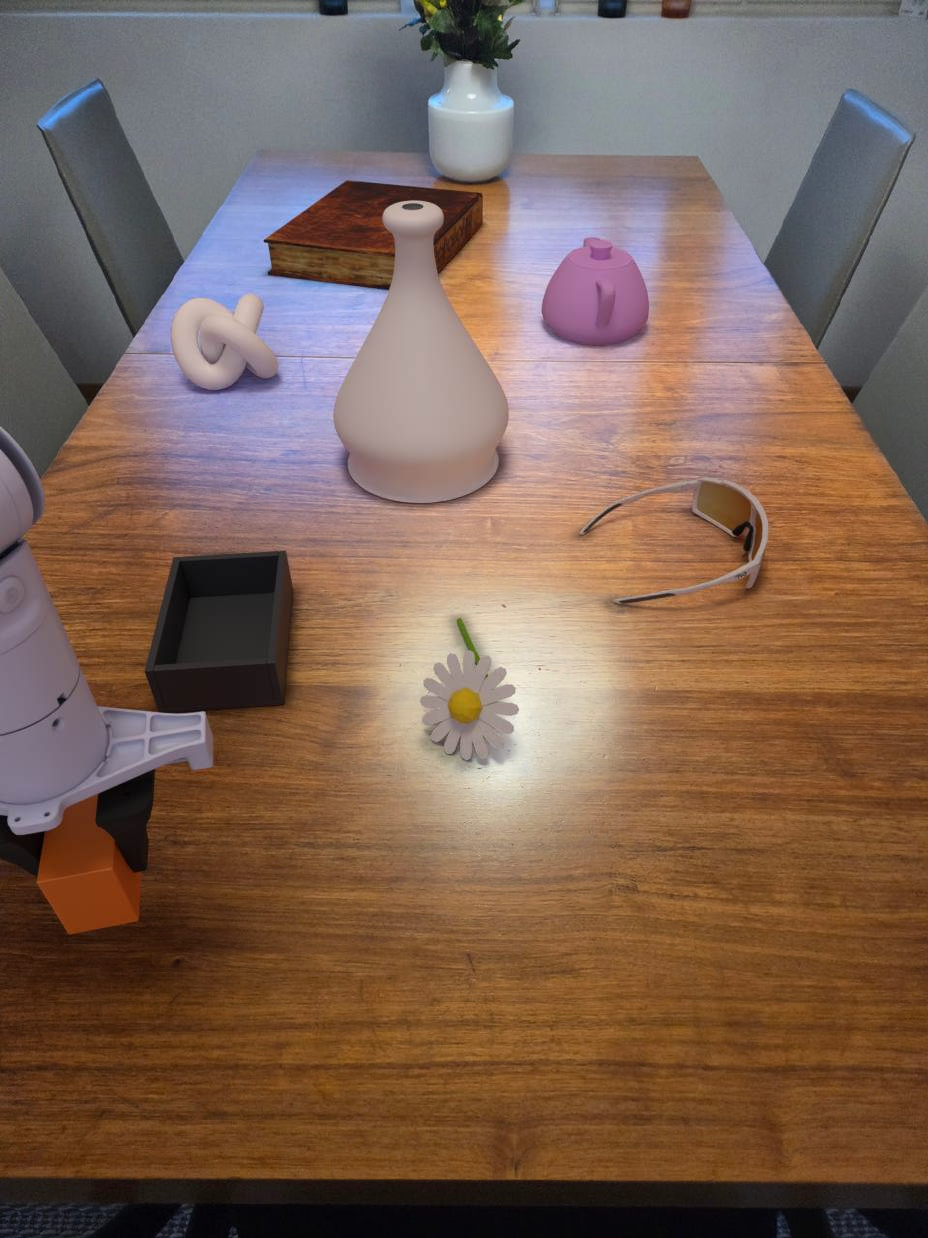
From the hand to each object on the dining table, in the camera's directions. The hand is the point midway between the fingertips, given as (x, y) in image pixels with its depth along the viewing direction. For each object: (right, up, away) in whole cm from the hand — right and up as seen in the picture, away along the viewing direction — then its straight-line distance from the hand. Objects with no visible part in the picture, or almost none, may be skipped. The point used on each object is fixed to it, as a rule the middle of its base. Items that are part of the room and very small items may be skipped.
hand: (100, 863), depth 46 cm
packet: (0, -1, +1) cm, 1 cm away
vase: (+15, +29, +45) cm, 55 cm away
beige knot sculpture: (-8, +42, +59) cm, 72 cm away
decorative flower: (+18, +7, +20) cm, 28 cm away
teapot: (+36, +52, +69) cm, 94 cm away
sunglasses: (+38, +18, +33) cm, 53 cm away
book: (+6, +71, +90) cm, 115 cm away
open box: (0, +11, +24) cm, 26 cm away
